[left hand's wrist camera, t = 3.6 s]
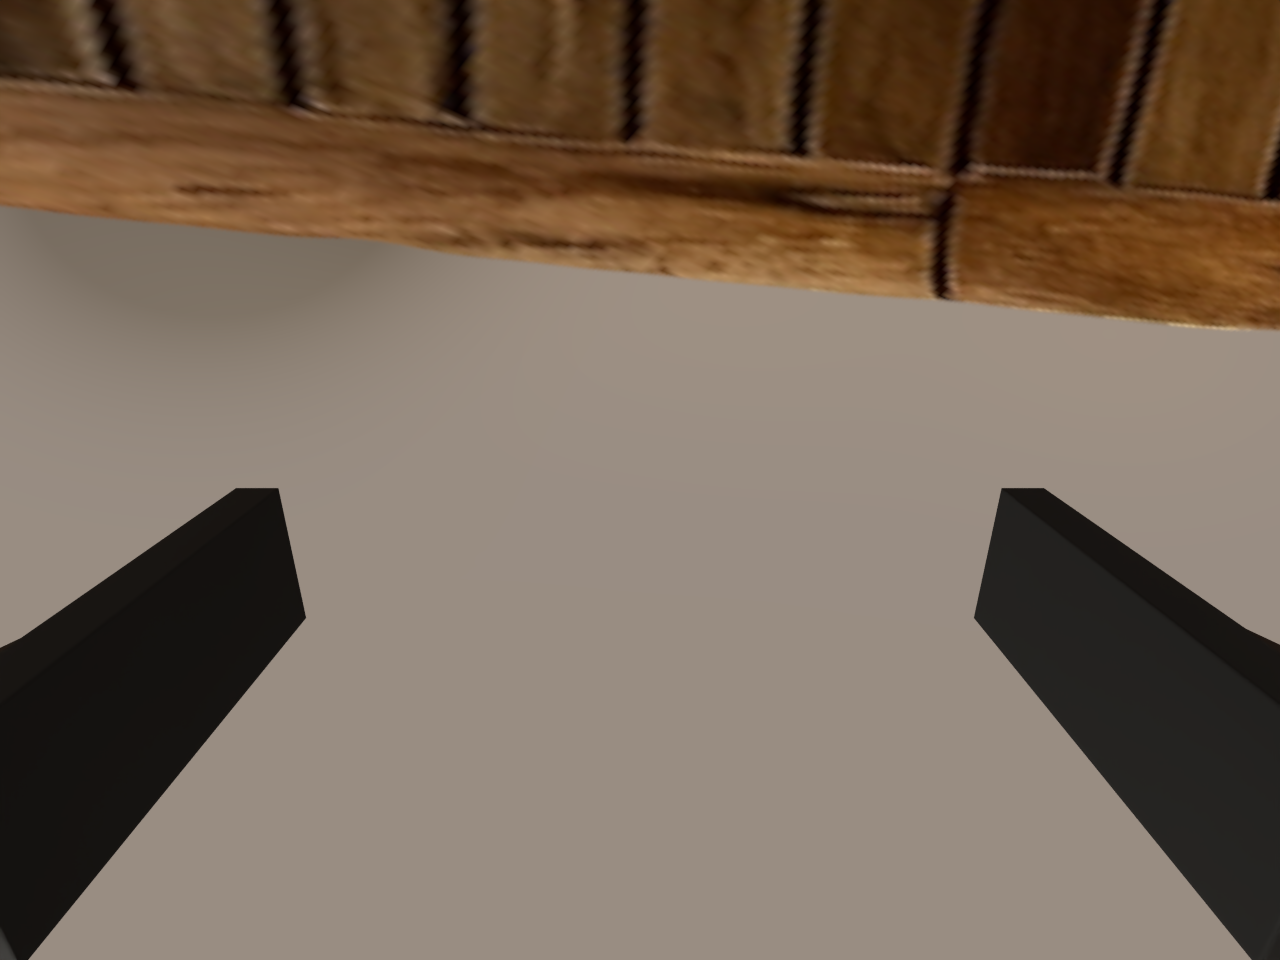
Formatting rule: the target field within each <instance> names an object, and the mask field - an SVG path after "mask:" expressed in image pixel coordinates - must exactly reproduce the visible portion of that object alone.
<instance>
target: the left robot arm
mask: <svg viewBox="0 0 1280 960" xmlns="http://www.w3.org/2000/svg"><path fill="white" fill-rule="evenodd" d="M305 618H306V616H305V611H304V606H303V602H302V597H301V592H300V587H299V583H298V578H297V574H296V569H295V564H294V559H293V555H292V550H291V545H290V541H289V536H288V531H287V527H286V522H285V517H284V513H283V508H282V503H281V499H280V494H279V489H278V488H236V489H234V490H233V491H231V492H230V493H229V494H227V495H226V496H224V497H223V498H221V499H220V500H219V501H217V502H216V503H214V504H213V505H211V506H210V507H209V508H207V509H206V510H204V511H203V512H201V513H200V514H198V515H197V516H196V517H194V518H193V519H191V520H190V521H188V522H187V523H186V524H184V525H183V526H181V527H180V528H178V529H177V530H175V531H174V532H173V533H171V534H170V535H168V536H167V537H165V538H164V539H163V540H161V541H160V542H158V543H157V544H155V545H154V546H152V547H151V548H150V549H148V550H147V551H145V552H144V553H142V554H141V555H140V556H138V557H137V558H135V559H134V560H132V561H131V562H130V563H128V564H127V565H125V566H124V567H122V568H121V569H119V570H118V571H117V572H115V573H114V574H112V575H111V576H109V577H108V578H107V579H105V580H104V581H102V582H101V583H99V584H98V585H97V586H95V587H94V588H92V589H91V590H89V591H88V592H86V593H85V594H84V595H82V596H81V597H79V598H78V599H76V600H75V601H73V602H72V603H71V604H69V605H68V606H66V607H65V608H63V609H62V610H61V611H59V612H58V613H56V614H55V615H53V616H52V617H51V618H49V619H48V620H46V621H45V622H43V623H42V624H40V625H39V626H38V627H36V628H35V629H33V630H32V631H30V632H29V633H28V634H26V635H25V636H23V637H22V638H20V639H18V640H16V641H14V642H12V643H9V644H7V645H5V646H3V647H1V648H0V960H28V959H29V958H30V957H31V956H32V954H33V953H34V952H35V951H36V949H37V948H38V947H39V946H40V945H41V943H42V942H43V941H44V940H45V938H46V937H47V936H48V935H49V933H50V932H51V931H52V930H53V928H54V927H55V926H56V925H57V924H58V922H59V921H60V920H61V919H62V917H63V916H64V915H65V914H66V913H67V911H68V910H69V909H70V908H71V906H72V905H73V904H74V903H75V901H76V900H77V899H78V898H79V897H80V895H81V894H82V893H83V892H84V890H85V889H86V888H87V887H88V885H89V884H90V883H91V882H92V881H93V879H94V878H95V877H96V876H97V874H98V873H99V872H100V871H101V869H102V868H103V867H104V866H105V865H106V863H107V862H108V861H109V860H110V858H111V857H112V856H113V855H114V853H115V852H116V851H117V850H118V849H119V847H120V846H121V845H122V844H123V842H124V841H125V840H126V839H127V837H128V836H129V835H130V834H131V833H132V831H133V830H134V829H135V828H136V826H137V825H138V824H139V823H140V822H141V820H142V819H143V818H144V817H145V815H146V814H147V813H148V812H149V810H150V809H151V808H152V807H153V805H154V804H155V803H156V802H157V801H158V799H159V798H160V797H161V796H162V794H163V793H164V792H165V791H166V790H167V788H168V787H169V786H170V785H171V783H172V782H173V781H174V780H175V778H176V777H177V776H178V775H179V774H180V772H181V771H182V770H183V769H184V767H185V766H186V765H187V764H188V762H189V761H190V760H191V759H192V758H193V756H194V755H195V754H196V753H197V751H198V750H199V749H200V748H201V746H202V745H203V744H204V743H205V742H206V740H207V739H208V738H209V737H210V735H211V734H212V733H213V732H214V730H215V729H216V728H217V727H218V726H219V724H220V723H221V722H222V721H223V719H224V718H225V717H226V716H227V714H228V713H229V712H230V711H231V710H232V708H233V707H234V706H235V705H236V703H237V702H238V701H239V700H240V698H241V697H242V696H243V695H244V694H245V692H246V691H247V690H248V689H249V687H250V686H251V685H252V684H253V682H254V681H255V680H256V679H257V678H258V676H259V675H260V674H261V673H262V671H263V670H264V669H265V668H266V666H267V665H268V664H269V663H270V662H271V660H272V659H273V658H274V657H275V655H276V654H277V653H278V652H279V650H280V649H281V648H282V647H283V646H284V644H285V643H286V642H287V641H288V639H289V638H290V637H291V636H292V634H293V633H294V632H295V631H296V630H297V628H298V627H299V626H300V625H301V623H302V622H303V621H304V620H305ZM974 618H975V620H976V621H977V622H978V623H979V625H980V626H981V627H982V628H983V630H984V631H985V632H986V633H987V634H988V636H989V637H990V638H991V639H992V641H993V642H994V643H995V644H996V646H997V647H998V648H999V649H1000V650H1001V652H1002V653H1003V654H1004V655H1005V657H1006V658H1007V659H1008V660H1009V662H1010V663H1011V664H1012V665H1013V666H1014V668H1015V669H1016V670H1017V671H1018V673H1019V674H1020V675H1021V676H1022V678H1023V679H1024V680H1025V681H1026V682H1027V684H1028V685H1029V686H1030V687H1031V689H1032V690H1033V691H1034V692H1035V694H1036V695H1037V696H1038V697H1039V698H1040V700H1041V701H1042V702H1043V703H1044V705H1045V706H1046V707H1047V708H1048V709H1049V711H1050V712H1051V713H1052V714H1053V716H1054V717H1055V718H1056V719H1057V721H1058V722H1059V723H1060V724H1061V726H1062V727H1063V728H1064V729H1065V730H1066V732H1067V733H1068V734H1069V735H1070V737H1071V738H1072V739H1073V740H1074V741H1075V743H1076V744H1077V745H1078V746H1079V748H1080V749H1081V750H1082V751H1083V753H1084V754H1085V755H1086V756H1087V757H1088V759H1089V760H1090V761H1091V762H1092V764H1093V765H1094V766H1095V767H1096V769H1097V770H1098V771H1099V772H1100V773H1101V775H1102V776H1103V777H1104V778H1105V780H1106V781H1107V782H1108V783H1109V785H1110V786H1111V787H1112V788H1113V790H1114V791H1115V792H1116V793H1117V794H1118V796H1119V797H1120V798H1121V799H1122V801H1123V802H1124V803H1125V804H1126V806H1127V807H1128V808H1129V809H1130V810H1131V812H1132V813H1133V814H1134V815H1135V817H1136V818H1137V819H1138V820H1139V821H1140V823H1141V824H1142V825H1143V826H1144V828H1145V829H1146V830H1147V831H1148V833H1149V834H1150V835H1151V836H1152V837H1153V839H1154V840H1155V841H1156V842H1157V844H1158V845H1159V846H1160V847H1161V849H1162V850H1163V851H1164V852H1165V853H1166V855H1167V856H1168V857H1169V858H1170V860H1171V861H1172V862H1173V863H1174V865H1175V866H1176V867H1177V868H1178V869H1179V871H1180V872H1181V873H1182V874H1183V876H1184V877H1185V878H1186V879H1187V881H1188V882H1189V883H1190V884H1191V885H1192V887H1193V888H1194V889H1195V890H1196V892H1197V893H1198V894H1199V895H1200V896H1201V898H1202V899H1203V900H1204V901H1205V903H1206V904H1207V905H1208V906H1209V908H1210V909H1211V910H1212V911H1213V912H1214V914H1215V915H1216V916H1217V917H1218V919H1219V920H1220V921H1221V922H1222V924H1223V925H1224V926H1225V927H1226V929H1227V930H1228V931H1229V932H1230V933H1231V935H1232V936H1233V937H1234V938H1235V940H1236V941H1237V942H1238V943H1239V945H1240V946H1241V947H1242V948H1243V949H1244V951H1245V952H1246V953H1247V954H1248V956H1249V957H1250V958H1251V959H1252V960H1280V645H1279V644H1277V643H1275V642H1273V641H1271V640H1268V639H1266V638H1264V637H1262V636H1260V635H1258V634H1256V633H1253V632H1251V631H1249V630H1247V629H1245V628H1244V627H1242V626H1241V625H1240V624H1238V623H1237V622H1235V621H1234V620H1232V619H1231V618H1229V617H1228V616H1227V615H1225V614H1224V613H1222V612H1221V611H1219V610H1218V609H1217V608H1215V607H1214V606H1212V605H1211V604H1209V603H1208V602H1206V601H1205V600H1204V599H1202V598H1201V597H1199V596H1198V595H1196V594H1195V593H1194V592H1192V591H1191V590H1189V589H1188V588H1186V587H1185V586H1183V585H1182V584H1181V583H1179V582H1178V581H1176V580H1175V579H1173V578H1172V577H1171V576H1169V575H1168V574H1166V573H1165V572H1163V571H1162V570H1161V569H1159V568H1158V567H1156V566H1155V565H1153V564H1152V563H1151V562H1149V561H1148V560H1146V559H1145V558H1143V557H1142V556H1140V555H1139V554H1138V553H1136V552H1135V551H1133V550H1132V549H1130V548H1129V547H1128V546H1126V545H1125V544H1123V543H1122V542H1120V541H1119V540H1117V539H1116V538H1115V537H1113V536H1112V535H1110V534H1109V533H1107V532H1106V531H1105V530H1103V529H1102V528H1100V527H1099V526H1097V525H1096V524H1095V523H1093V522H1092V521H1090V520H1089V519H1087V518H1086V517H1084V516H1083V515H1082V514H1080V513H1079V512H1077V511H1076V510H1074V509H1073V508H1072V507H1070V506H1069V505H1067V504H1066V503H1064V502H1063V501H1061V500H1060V499H1059V498H1057V497H1056V496H1054V495H1053V494H1051V493H1050V492H1049V491H1047V490H1046V489H1044V488H1002V489H1001V494H1000V499H999V503H998V508H997V513H996V517H995V522H994V527H993V531H992V536H991V541H990V545H989V550H988V555H987V559H986V564H985V569H984V573H983V578H982V583H981V587H980V592H979V597H978V602H977V606H976V611H975V616H974Z"/></svg>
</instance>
